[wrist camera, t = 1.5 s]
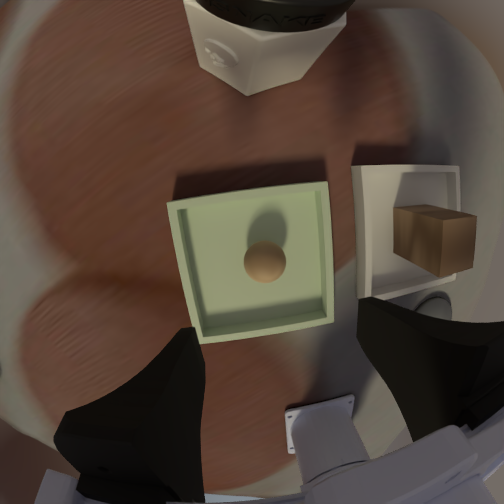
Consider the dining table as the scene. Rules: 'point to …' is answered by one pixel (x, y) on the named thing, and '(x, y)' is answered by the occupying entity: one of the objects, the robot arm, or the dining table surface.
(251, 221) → the green box
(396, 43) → the dining table surface
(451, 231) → the walnut block
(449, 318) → the slate coaster
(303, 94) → the dining table surface
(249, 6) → the jar
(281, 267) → the cork ball
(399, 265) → the grey box
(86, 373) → the dining table surface
